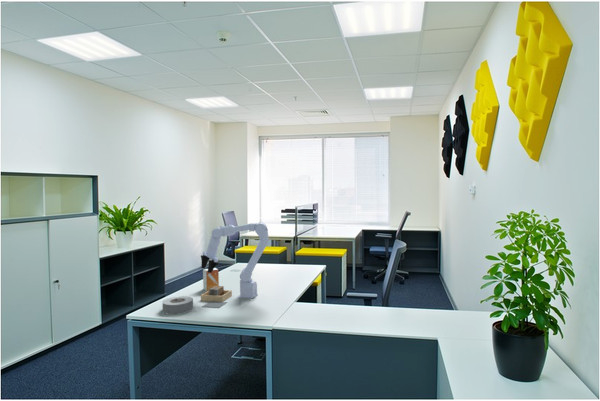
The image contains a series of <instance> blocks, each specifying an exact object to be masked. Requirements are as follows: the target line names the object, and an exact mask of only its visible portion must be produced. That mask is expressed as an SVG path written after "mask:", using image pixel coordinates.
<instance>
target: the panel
mask: <svg viewBox="0 0 600 401" xmlns="http://www.w3.org/2000/svg"><path fill="white" fill-rule="evenodd" d="M227 303H228V302H227V301H223V302H216V301H208V302H207V303H205V304H204V305H202V306H201V307H202V308H211V309H220V308H221V307H223V306H224V305H227Z"/></svg>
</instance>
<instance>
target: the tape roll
mask: <svg viewBox="0 0 600 401" xmlns="http://www.w3.org/2000/svg"><path fill="white" fill-rule="evenodd" d="M193 309H194V298H192V296H191V297H190V296H187V295H185V296H184V295H183V296H182V295H181V296H173V297H169V298H166V299H164V300H163V301H162V313H163V312H164V314H166V313H168V314H167V315H179V314H178V313H180V314H184V313H188V312H190V311H192V310H193Z"/></svg>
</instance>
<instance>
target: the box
mask: <svg viewBox="0 0 600 401" xmlns="http://www.w3.org/2000/svg"><path fill="white" fill-rule="evenodd" d="M224 287H225V286H223V285H219V286H214V287H212V288H211V289H209V295H215V296H222V295H224V290H225V288H224Z"/></svg>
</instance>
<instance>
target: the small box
mask: <svg viewBox="0 0 600 401" xmlns="http://www.w3.org/2000/svg"><path fill="white" fill-rule="evenodd" d="M219 274H220V273H219V269H218V268H216V267H214V269H213V271H212V272H211V273H208V268H202V286H203V291H205V292H207V291H209V289H211V288H212V287H214V286H220V285H219V284H220V283H219V280H220V277H219Z"/></svg>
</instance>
